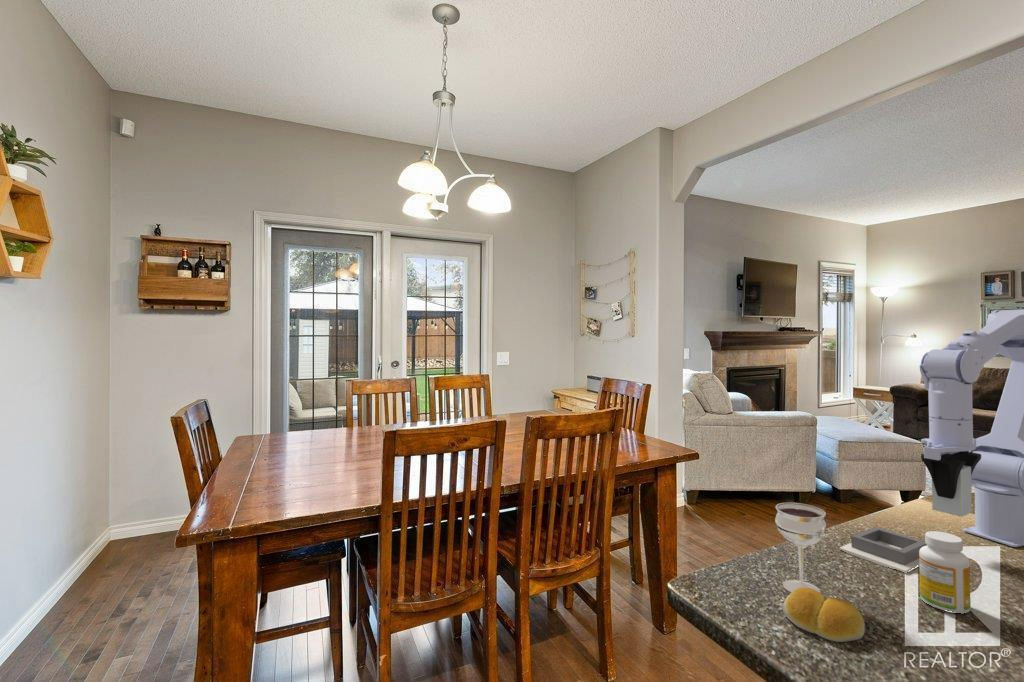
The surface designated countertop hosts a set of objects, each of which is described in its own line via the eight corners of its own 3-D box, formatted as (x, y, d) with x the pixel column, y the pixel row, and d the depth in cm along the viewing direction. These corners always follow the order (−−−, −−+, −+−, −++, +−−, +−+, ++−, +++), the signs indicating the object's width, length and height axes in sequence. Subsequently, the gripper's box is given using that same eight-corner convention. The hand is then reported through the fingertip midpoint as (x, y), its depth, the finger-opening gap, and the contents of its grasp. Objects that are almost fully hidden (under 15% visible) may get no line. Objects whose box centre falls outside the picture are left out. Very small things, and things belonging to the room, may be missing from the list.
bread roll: (856, 654, 59) (855, 621, 59) (777, 623, 66) (776, 594, 66) (872, 625, 65) (872, 596, 65) (798, 599, 71) (797, 572, 71)
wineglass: (800, 603, 70) (799, 520, 70) (766, 580, 77) (764, 504, 77) (839, 596, 72) (837, 515, 72) (802, 574, 78) (800, 500, 78)
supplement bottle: (950, 594, 71) (949, 529, 71) (981, 616, 66) (980, 544, 66) (910, 593, 72) (909, 528, 72) (938, 614, 67) (937, 544, 67)
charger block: (942, 505, 88) (942, 461, 88) (971, 512, 85) (970, 466, 84) (932, 509, 86) (931, 464, 86) (961, 516, 83) (960, 469, 83)
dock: (875, 536, 92) (874, 522, 92) (940, 556, 83) (940, 542, 83) (839, 550, 87) (839, 536, 87) (905, 573, 78) (905, 558, 78)
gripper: (941, 410, 92) (942, 482, 92) (902, 418, 85) (903, 495, 85) (991, 415, 86) (992, 492, 86) (953, 424, 79) (954, 507, 79)
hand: (951, 494), depth 85 cm, fingers closed on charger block, 4 cm apart
